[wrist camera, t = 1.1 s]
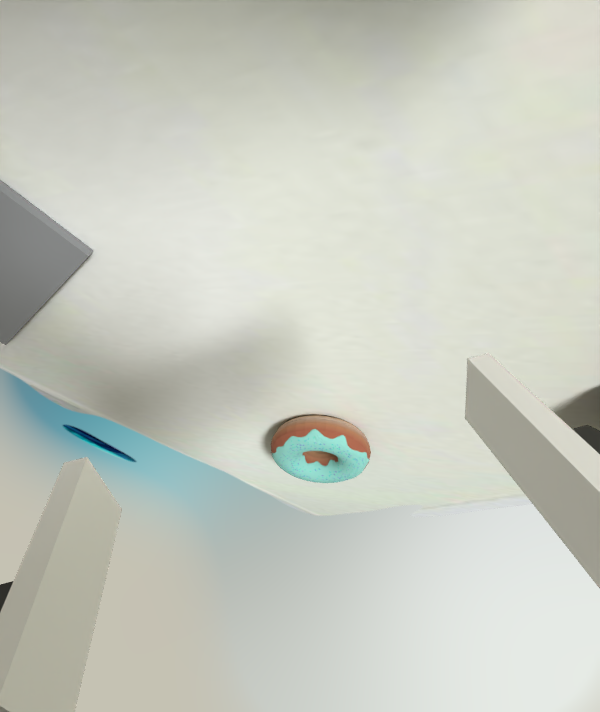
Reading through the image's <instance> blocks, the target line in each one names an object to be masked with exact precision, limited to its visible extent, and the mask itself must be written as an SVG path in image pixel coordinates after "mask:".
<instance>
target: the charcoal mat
mask: <svg viewBox="0 0 600 712" xmlns="http://www.w3.org/2000/svg"><path fill="white" fill-rule="evenodd" d="M92 252H93V250H92V249H91V248H89V247H88V246H87V245H85V244H84V243H83V242H81V241H80V240H79V239H77V238H76V237H75V236H73V235H72V234H71V233H69V232H68V231H67V230H65V229H64V228H63V227H62V226H60V225H59V224H58V223H56V222H55V221H54V220H52V219H51V218H50V217H48V216H47V215H46V214H44V213H43V212H42V211H40V210H39V209H38V208H36V207H35V206H34V205H32V204H31V203H30V202H29V201H27V200H26V199H25V198H23V197H22V196H21V195H19V194H18V193H17V192H15V191H14V190H13V189H11V188H10V187H9V186H7V185H6V184H5V183H3V182H2V181H1V180H0V342H1V343H3V344H5V345H6V344H7V343H8V342H9V341H10V340H11V339H12V338H13V337H14V336H15V335H16V333H17V332H18V331H19V330H20V329H21V328H22V327H23V326H24V325H25V324H26V323H27V322H28V321H29V320H30V319H31V318H32V316H33V315H34V314H35V313H36V312H37V311H38V310H39V309H40V308H41V307H42V306H43V305H44V304H45V303H46V302H47V300H48V299H49V298H50V297H51V296H52V295H53V294H54V293H55V292H56V291H57V290H58V289H59V288H60V287H61V286H62V284H63V283H64V282H65V281H66V280H67V279H68V278H69V277H70V276H71V275H72V274H73V273H74V272H75V271H76V270H77V268H78V267H79V266H80V265H81V264H82V263H83V262H84V261H85V260H86V259H87V258H88V257H89V256H90V254H91V253H92Z"/></svg>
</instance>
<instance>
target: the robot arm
mask: <svg viewBox="0 0 600 712" xmlns="http://www.w3.org/2000/svg"><path fill="white" fill-rule="evenodd" d="M465 419H466V420H467V421H468V423H469V424H470V425H471V426H472V428H473V429H474V430H475V431H476V433H477V434H478V435H479V437H480V438H481V439H482V440H483V442H484V443H485V444H486V445H487V447H488V448H489V449H490V450H491V452H492V453H493V454H494V455H495V457H496V458H497V459H498V461H499V462H500V463H501V464H502V466H503V467H504V468H505V469H506V471H507V472H508V473H509V474H510V476H511V477H512V478H513V479H514V481H515V482H516V483H517V485H518V486H519V487H520V488H521V490H522V491H523V492H524V493H525V495H526V496H527V497H528V498H529V500H530V501H531V502H532V504H533V505H534V506H535V507H536V508H537V510H538V511H539V512H540V513H541V515H542V516H543V517H544V519H545V520H546V521H547V522H548V523H549V525H550V526H551V528H552V529H553V530H554V531H555V533H556V534H557V535H558V536H559V538H560V539H561V540H562V541H563V543H564V544H565V545H566V546H567V548H568V549H569V550H570V551H571V553H572V554H573V555H574V557H575V558H576V559H577V560H578V562H579V563H580V564H581V565H582V567H583V568H584V569H585V570H586V572H587V573H588V574H589V576H590V577H591V578H592V579H593V581H594V582H595V583H596V584H597V586H598V587H599V588H600V431H599V430H597V429H595V428H593V427H591V426H589V425H586V426H582V427H578V428H574V429H571V428H570V427H569V426H568V425H567V424H566V423H565V422H564V421H563V420H562V419H560V418H559V417H558V416H557V415H556V414H555V413H554V412H553V411H552V410H551V409H549V408H548V407H547V406H546V405H545V404H544V403H543V402H542V401H541V400H540V399H539V398H537V397H536V396H535V395H534V394H533V393H532V392H531V391H530V390H529V389H528V388H527V387H525V386H524V385H523V384H522V383H521V382H520V381H519V380H518V379H517V378H516V377H514V376H513V375H512V374H511V373H510V372H509V371H508V370H507V369H506V368H505V367H504V366H502V365H501V364H500V363H499V362H498V361H497V360H496V359H495V358H494V357H493V356H491V355H490V354H489V353H487V354H483V355H479V356H475V357H471V358H468V359H467V384H466V408H465ZM121 511H122V509H121V507H120V506H119V504H118V503H117V501H116V500H115V498H114V497H113V495H112V494H111V492H110V491H109V489H108V488H107V486H106V485H105V483H104V482H103V480H102V479H101V477H100V476H99V474H98V473H97V471H96V470H95V468H94V467H93V465H92V464H91V462H90V461H89V459H88V458H87V457H85V458H81V459H77V460H73V461H69V462H66V463H64V464H63V466H62V468H61V471H60V473H59V476H58V478H57V480H56V482H55V485H54V487H53V490H52V492H51V494H50V497H49V499H48V501H47V504H46V506H45V509H44V511H43V513H42V515H41V518H40V520H39V523H38V525H37V527H36V530H35V532H34V534H33V537H32V539H31V541H30V544H29V546H28V548H27V551H26V553H25V555H24V558H23V560H22V562H21V565H20V567H19V570H18V572H17V574H16V577H15V579H14V581H12V582H9V583H5V584H1V585H0V712H75V708H76V704H77V700H78V695H79V691H80V687H81V683H82V678H83V674H84V670H85V665H86V661H87V657H88V653H89V648H90V644H91V640H92V635H93V631H94V626H95V622H96V618H97V614H98V609H99V605H100V601H101V597H102V592H103V588H104V584H105V579H106V575H107V571H108V567H109V563H110V558H111V554H112V550H113V545H114V541H115V537H116V533H117V528H118V524H119V520H120V515H121Z"/></svg>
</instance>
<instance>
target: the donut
mask: <svg viewBox="0 0 600 712" xmlns="http://www.w3.org/2000/svg"><path fill="white" fill-rule="evenodd" d="M271 451H272V456H273V458H274V460H275V462H276V463H277V465H278V466H279V467H280V468H281V469H283V470H284V471H285V472H287V473H289V474H290V475H292V476H294V477H297V478H300V479H303V480H307V481H312V482H319V483H334V482H341V481H345V480H348V479H352V478H354V477H356V476H358V475H359V474H360V473H362V471H363V470H364V469H365V467H366V466H367V464H368V463H369V458H370V453H371V451H370V446H369V443H368V441H367V438H366V437H365V435H364V434H363V433H362V432H361V431H360V430H359V429H358V428H357V427H355V426H354V425H352V424H351V423H348V422H346V421H344V420H341V419H338V418H334V417H329V416H320V415H312V416H302V417H298V418H294V419H291V420H289V421H287V422H286V423H284V424H283V425H281V426H280V427H279V428H278V430H277V431H276V433H275V434H274V436H273V438H272V442H271Z"/></svg>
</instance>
